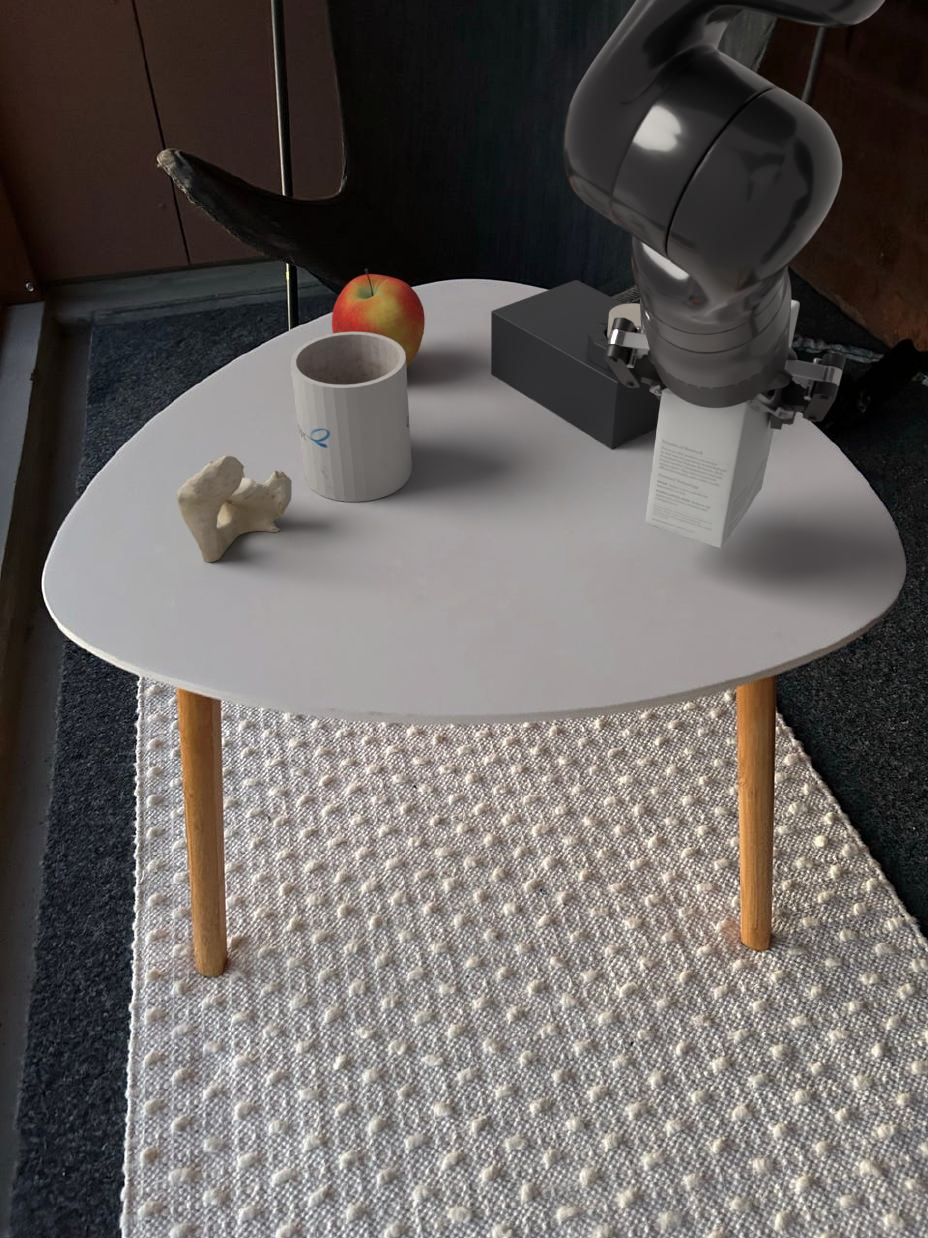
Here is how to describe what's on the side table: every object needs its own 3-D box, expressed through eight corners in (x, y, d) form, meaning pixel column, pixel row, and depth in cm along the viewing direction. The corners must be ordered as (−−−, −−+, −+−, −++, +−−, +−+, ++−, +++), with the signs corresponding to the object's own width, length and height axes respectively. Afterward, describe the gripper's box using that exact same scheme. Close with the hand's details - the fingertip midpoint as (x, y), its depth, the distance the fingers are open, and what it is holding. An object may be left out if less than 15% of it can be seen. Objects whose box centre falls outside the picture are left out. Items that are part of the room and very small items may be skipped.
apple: (443, 375, 99) (440, 269, 92) (367, 402, 96) (358, 295, 89) (396, 341, 104) (390, 239, 97) (322, 365, 101) (310, 261, 94)
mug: (421, 493, 85) (415, 379, 79) (311, 508, 84) (296, 394, 77) (393, 413, 94) (386, 305, 88) (294, 426, 93) (279, 317, 86)
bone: (264, 466, 85) (271, 401, 76) (303, 534, 84) (315, 477, 75) (163, 508, 82) (157, 446, 73) (201, 580, 81) (201, 525, 72)
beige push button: (667, 339, 88) (670, 315, 86) (631, 354, 86) (633, 330, 84) (632, 321, 90) (634, 298, 89) (596, 336, 88) (598, 312, 87)
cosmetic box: (687, 470, 80) (713, 276, 71) (766, 492, 78) (804, 295, 68) (641, 528, 75) (662, 328, 65) (725, 554, 73) (759, 350, 63)
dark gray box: (701, 412, 94) (714, 326, 88) (616, 452, 89) (625, 364, 84) (572, 341, 104) (577, 260, 98) (490, 374, 99) (490, 291, 94)
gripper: (875, 268, 55) (850, 370, 71) (602, 228, 59) (636, 333, 75) (838, 410, 55) (821, 480, 71) (567, 360, 59) (609, 437, 75)
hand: (726, 404), depth 73 cm, fingers closed on cosmetic box, 6 cm apart
